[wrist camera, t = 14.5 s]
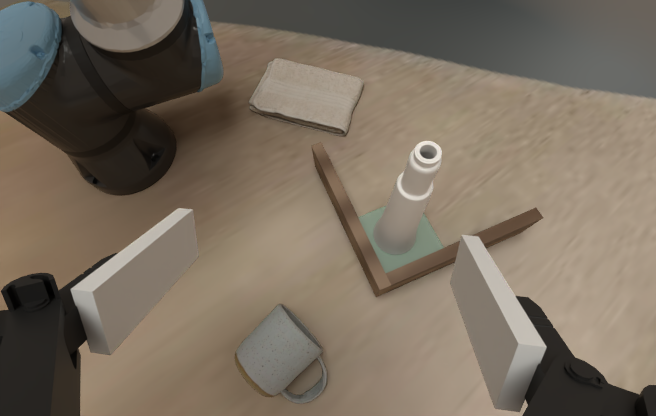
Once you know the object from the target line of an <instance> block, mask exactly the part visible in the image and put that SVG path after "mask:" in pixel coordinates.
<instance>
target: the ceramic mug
mask: <svg viewBox="0 0 656 416" xmlns="http://www.w3.org/2000/svg"><path fill="white" fill-rule="evenodd" d="M322 352H323V349H322V347H321V345H320V344H319V342H318V341H317V339H316V338H315V337H314V335H313V334H312V333H311V332H310V331H309V329H308V328H307V327H306V326H305V325H304V324H303V323H302V322H301V321H300V320H299V318H298V317H296V316H295V314H294V313H293V312H291V311H290V310H289V309H288V308H287V307H286V306H284V305H282V304H278V305H277V306H276V307H275V308H274V309H273V311H272V312H271V313H270V314H269V315H268V316H267V317H266V318H265V319H264V320H263V321H262V322H261V323H260V324H259V325H258V326H257V327H256V328H255V330H254V331H253V332H252V333H251V334H250V335H249V336H248V337H247V338H246V339H245V340H244V341H243V342H242V343H241V345H240V346H239V347H238V349H237V351H236V353H235V363H236V365H237V368H238V370H239V372H240V373H241V375H242V376H243V378H244V379H245V380H246V381H247V382H248V384H249V385H250V386H251V387H252V388H253V389H254V390H256V391H257V392H258V393H260V394H261V395H263V396H265V397H273V396H275V395H277V394H278V393H280V392H281V393H282V395H283V396H284V397H285V398H286V399H288V400H289V401H291V402H294V403H297V404H302V403H308V402H310V401H312V400H314V399H315V398H316V397H317V396H318V395H320V394H321V392H322V391H323V390H324V388H325V386H326V382H327V371H326V367H325V365H324V362H323V361H322V359H321V357H320V354H321V353H322ZM315 359H318V360H319V362H320V364H321V367H322V378H321V379H320V381H319V382H318V383H317V384H316V385H315V386H314V387H313V388H312V389H310V390H309V391H306V392H305V394H304V395H295V394H292V393H290V392H289V391H288V390H286V389H285V388H286V387H287V386H288V385H289V384H290V383H291V382H292V381H293V380H294V379H295V378H296V377H297V376H298V375H299V374H300V373H301V372H302V371H303V370H304V369H306V368H307V367H308V366H309V365H310V364H311V363H312V362H313V361H314V360H315Z"/></svg>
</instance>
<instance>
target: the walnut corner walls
mask: <svg viewBox="0 0 656 416" xmlns="http://www.w3.org/2000/svg"><path fill="white" fill-rule="evenodd" d="M312 152H313V157H314V162H315V167H316V169H317V171H318V173H319V176H320V178H321V180H322V182H323V184H324V186H325V189H326V191H327V193H328V195H329V197H330V199H331V201H332V204H333V206H334V208H335V210H336V212H337V214H338V216H339V219H340V221H341V223H342V225H343V227H344V229H345V231H346V234H347V236H348V238H349V240H350V242H351V244H352V247H353V249H354V251H355V253H356V255H357V257H358V259H359V262H360V264H361V266H362V268H363V270H364V272H365V274H366V277H367V279H368V281H369V283H370V285H371V287H372V290H373V292H374V294H375V296H376V297H377V296H380V295H382V294H384V293H386V292H389V291H391V290H393V289H395V288H398V287H400V286H402V285H404V284H407V283H409V282H411V281H413V280H416V279H418V278H420V277H422V276H425V275H427V274H429V273H431V272H434V271H436V270H438V269H440V268H443V267H445V266H447V265H449V264H452V263H454V262H455V261H456V256H457V252H458V248H459V244H460V241H459V242H456V243H454V244H452V245H449V246H447V247H445V248H443V249H440V250H438V251H436V252H434V253H431V254H429V255H427V256H424V257H422V258H420V259H418V260H415V261H413V262H411V263H408V264H406V265H404V266H402V267H399V268H397V269H395V270H392V271H390V272H388V273H385V271H384V269H383V267H382V265H381V263H380V261H379V259H378V257H377V255H376V253H375V251H374V249H373V247H372V245H371V243H370V241H369V239H368V237H367V235H366V232H365V230H364V228H363V226H362V224H361V222H360V220H359V218H358V216H357V214H356V212H355V210H354V208H353V206H352V204H351V202H350V200H349V198H348V196H347V194H346V192H345V190H344V188H343V186H342V184H341V182H340V179H339V177H338V175H337V173H336V171H335V169H334V167H333V165H332V163H331V161H330V159H329V157H328V155H327V153H326V151H325V149H324V147H323V145H322V143H321V142H320V143H317V144H315V145H312ZM542 218H543V217H542V215H541V214H540V212H539V211H538V210H537V208H534V209H532V210H529V211H527V212H525V213H522V214H520V215H518V216H516V217H513V218H511V219H509V220H507V221H504V222H502V223H500V224H497V225H495V226H493V227H491V228H488V229H486V230H484V231H481V232H479V233H477V234H475V235H472V236H479V238H480V240H481V241H482V243H483V245H484V246H485V248H488V247H490V246H492V245H494V244H497V243H499V242H501V241H503V240H506V239H508V238H510V237H512V236H515V235H517V234H519V233H521V232H523V231H524V230H526V229H527V228H529V227H530V226H532V225H533V224H535V223H536V222H538V221H539V220H541V219H542Z"/></svg>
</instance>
